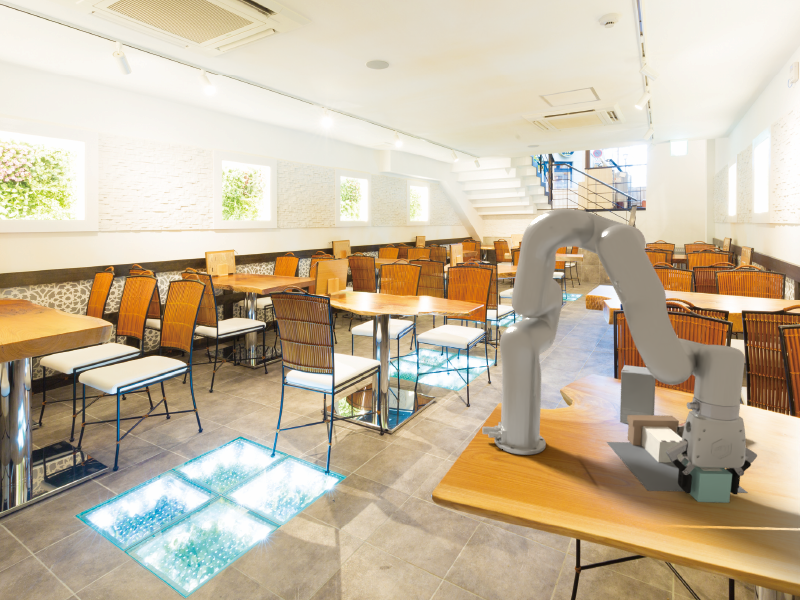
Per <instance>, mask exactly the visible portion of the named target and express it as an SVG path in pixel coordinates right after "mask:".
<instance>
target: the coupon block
mask: <svg viewBox="0 0 800 600" xmlns="http://www.w3.org/2000/svg"><path fill="white" fill-rule="evenodd" d="M627 421H628V422H629V424H627V425H628V427H627V442H630V443H631V444H632V445H640V444H641V445H642V446H643V447H644V448H645V449H646V450H647V451H648V452H649V453H650V454H651V455H652V456H653V457H654V458H655V459H656V460H657V461H658V462H671V460H670V458H669V457H668V455H667V453H666V450H667V449H669V448H671V447H673V446H675V445H677V444H679V443H681V442H682V438H681V437H680V436H679V435H677V434H676V429H677V427H678V426H679V423H680V420H679V419H677V418H676V417H674V416H673V415H660V414H659V415H655V414H654V415H628V416H627ZM677 457H678V459H679V461H680V459H681V458H682V457H683V456H682V454H681V453H680V454H678V456H677Z"/></svg>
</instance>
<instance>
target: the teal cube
mask: <svg viewBox="0 0 800 600" xmlns="http://www.w3.org/2000/svg"><path fill="white" fill-rule="evenodd" d="M688 463H689V462H688ZM688 463H687V464H688ZM687 464H686V465H687ZM686 465H685V466H686ZM690 474H691V475H692V484H691V493H690V494H689V495H690V496H691V497H692V498H694V500H695V501H697V503H730V500H731V493H730V491H731V482H732V474H731V473H730V472H729V471H728V470H726V468H701V467H696V466H695V468H694V469H693V470H692V471H691V472H690Z"/></svg>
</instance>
